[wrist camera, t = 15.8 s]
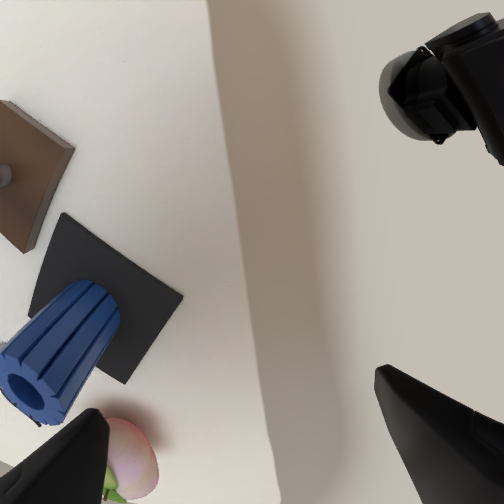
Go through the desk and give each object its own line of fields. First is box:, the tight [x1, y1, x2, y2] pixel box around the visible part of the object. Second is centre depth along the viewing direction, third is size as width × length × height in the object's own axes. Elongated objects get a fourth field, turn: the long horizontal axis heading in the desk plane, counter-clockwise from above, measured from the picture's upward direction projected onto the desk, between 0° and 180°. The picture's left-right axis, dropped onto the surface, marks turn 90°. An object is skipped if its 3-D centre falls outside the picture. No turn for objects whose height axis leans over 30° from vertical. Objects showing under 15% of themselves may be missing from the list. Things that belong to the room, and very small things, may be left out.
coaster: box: [28, 212, 183, 385], centre depth 21 cm, size 11×11×1 cm
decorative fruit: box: [102, 418, 159, 503], centre depth 21 cm, size 9×8×10 cm
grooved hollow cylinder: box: [0, 279, 120, 426], centre depth 16 cm, size 5×5×10 cm
